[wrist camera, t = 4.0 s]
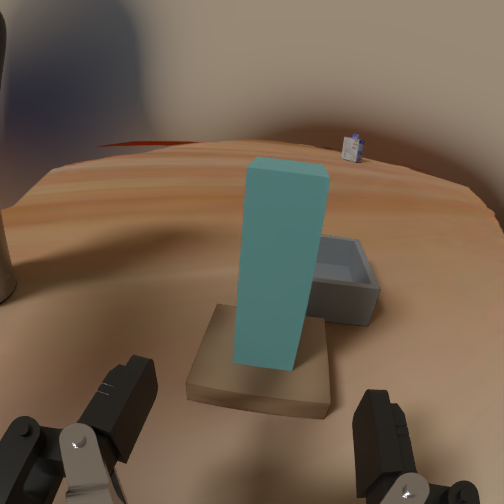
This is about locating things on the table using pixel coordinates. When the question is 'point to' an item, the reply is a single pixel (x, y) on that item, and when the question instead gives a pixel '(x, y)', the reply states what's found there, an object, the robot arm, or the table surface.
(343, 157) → the ink cartridge box
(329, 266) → the charcoal bin
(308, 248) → the teal strut
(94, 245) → the table surface
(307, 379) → the walnut stud block
